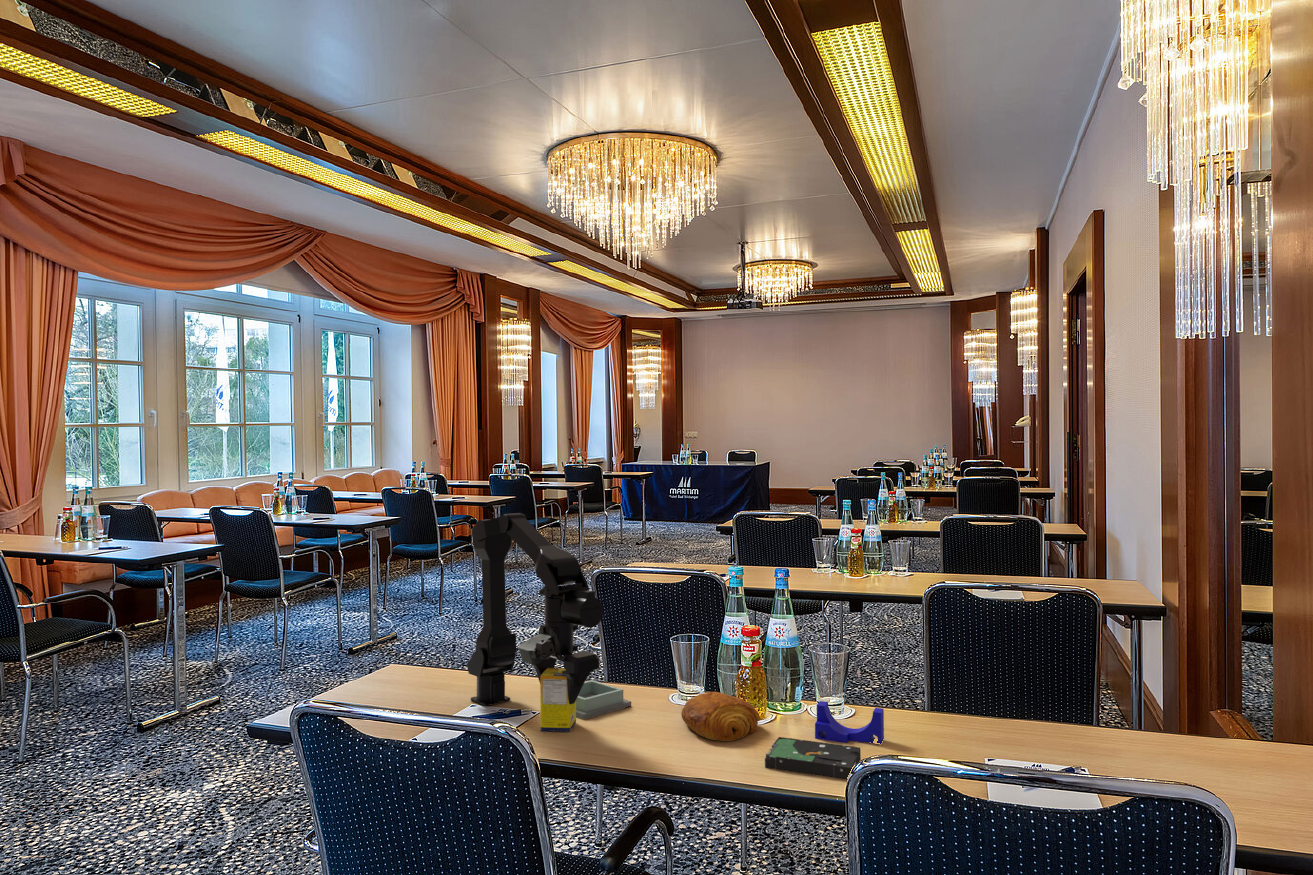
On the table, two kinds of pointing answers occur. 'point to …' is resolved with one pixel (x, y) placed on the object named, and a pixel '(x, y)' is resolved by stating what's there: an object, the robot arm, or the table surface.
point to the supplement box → (556, 702)
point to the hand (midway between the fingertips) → (558, 698)
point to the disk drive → (812, 757)
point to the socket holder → (599, 699)
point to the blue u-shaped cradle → (836, 732)
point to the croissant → (720, 716)
